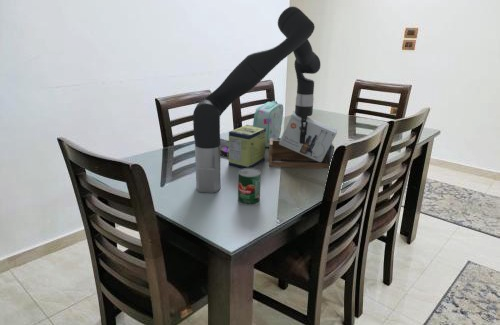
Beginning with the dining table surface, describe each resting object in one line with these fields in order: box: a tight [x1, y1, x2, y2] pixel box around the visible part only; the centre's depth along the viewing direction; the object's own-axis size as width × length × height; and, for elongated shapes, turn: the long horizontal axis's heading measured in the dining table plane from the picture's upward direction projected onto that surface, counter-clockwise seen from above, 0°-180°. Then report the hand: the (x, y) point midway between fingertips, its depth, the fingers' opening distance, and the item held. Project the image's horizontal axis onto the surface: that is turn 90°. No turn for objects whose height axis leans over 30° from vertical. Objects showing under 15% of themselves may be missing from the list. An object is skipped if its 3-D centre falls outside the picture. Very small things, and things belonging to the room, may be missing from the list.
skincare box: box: [279, 110, 338, 163], centre depth 158 cm, size 21×6×16 cm, turn 78°
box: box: [220, 138, 229, 159], centre depth 178 cm, size 14×4×20 cm
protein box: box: [228, 124, 266, 169], centre depth 160 cm, size 10×16×16 cm
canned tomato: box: [237, 167, 262, 206], centre depth 125 cm, size 8×8×11 cm
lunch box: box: [252, 100, 284, 148], centre depth 190 cm, size 27×10×21 cm, turn 161°
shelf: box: [268, 138, 335, 170], centre depth 162 cm, size 11×28×10 cm, turn 87°
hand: (301, 141), depth 160 cm, fingers open, 6 cm apart
